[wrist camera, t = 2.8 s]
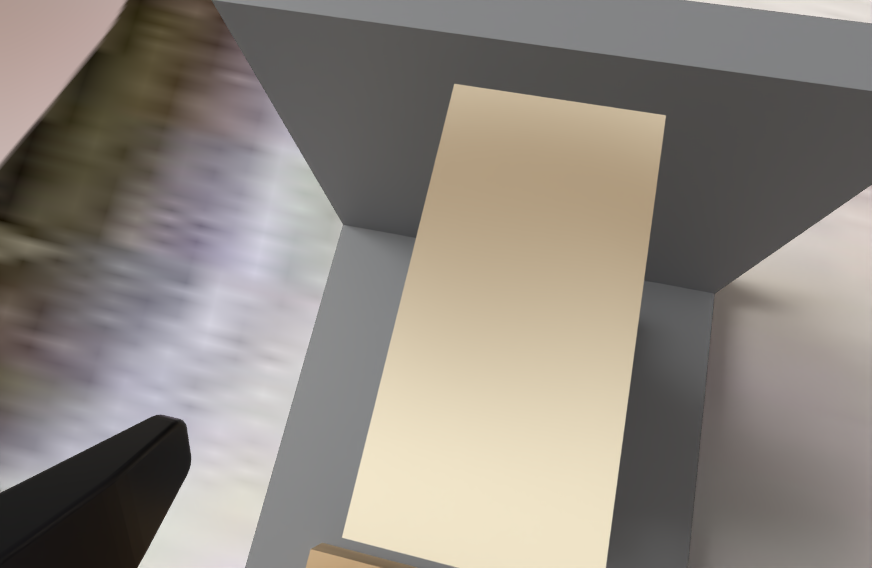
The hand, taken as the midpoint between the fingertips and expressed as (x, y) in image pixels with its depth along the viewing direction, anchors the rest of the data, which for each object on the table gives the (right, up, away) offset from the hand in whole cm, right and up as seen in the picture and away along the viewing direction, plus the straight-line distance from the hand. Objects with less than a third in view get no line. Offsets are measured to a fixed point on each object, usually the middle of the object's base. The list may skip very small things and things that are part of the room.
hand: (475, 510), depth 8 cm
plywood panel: (+1, 0, +9) cm, 9 cm away
